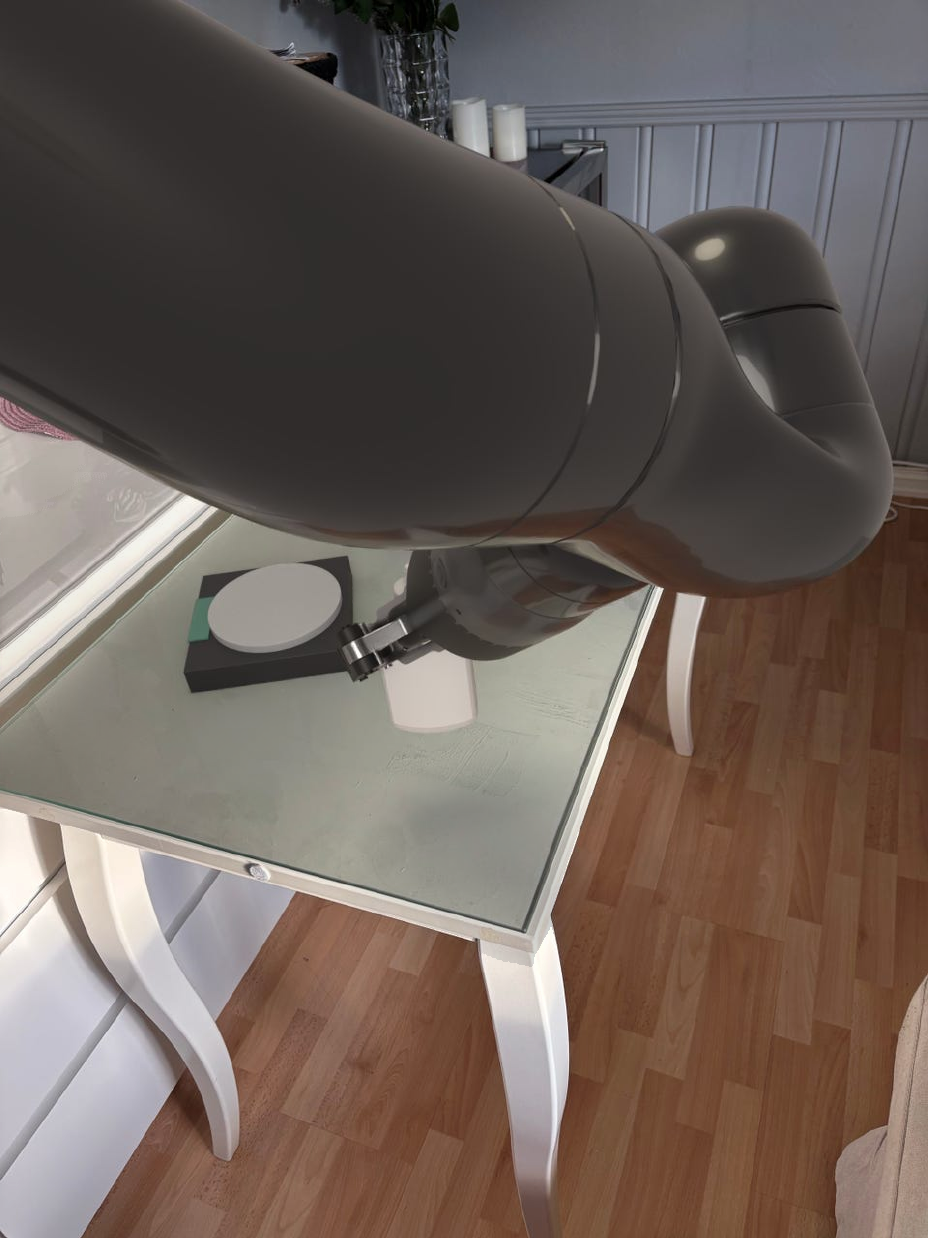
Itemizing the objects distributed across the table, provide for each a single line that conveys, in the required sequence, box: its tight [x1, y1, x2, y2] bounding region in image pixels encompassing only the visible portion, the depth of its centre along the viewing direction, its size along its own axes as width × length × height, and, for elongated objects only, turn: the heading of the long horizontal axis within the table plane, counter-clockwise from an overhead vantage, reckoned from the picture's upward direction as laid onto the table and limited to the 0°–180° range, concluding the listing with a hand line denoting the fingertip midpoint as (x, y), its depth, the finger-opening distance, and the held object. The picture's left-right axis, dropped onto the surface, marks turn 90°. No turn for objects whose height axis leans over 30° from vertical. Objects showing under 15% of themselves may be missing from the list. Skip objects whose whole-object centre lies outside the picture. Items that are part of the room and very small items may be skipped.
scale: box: [182, 555, 354, 694], centre depth 82 cm, size 14×14×3 cm
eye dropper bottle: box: [379, 562, 479, 735], centre depth 55 cm, size 4×6×12 cm
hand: (409, 635), depth 56 cm, fingers closed on eye dropper bottle, 5 cm apart
